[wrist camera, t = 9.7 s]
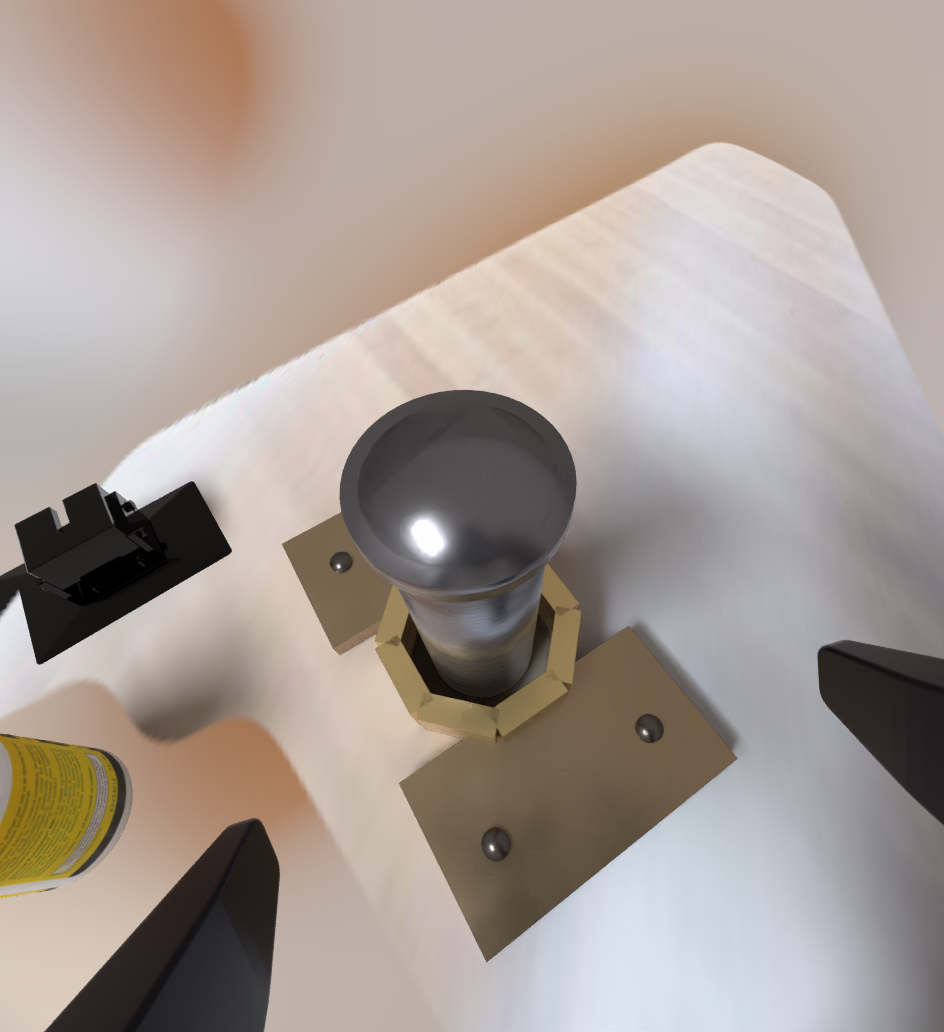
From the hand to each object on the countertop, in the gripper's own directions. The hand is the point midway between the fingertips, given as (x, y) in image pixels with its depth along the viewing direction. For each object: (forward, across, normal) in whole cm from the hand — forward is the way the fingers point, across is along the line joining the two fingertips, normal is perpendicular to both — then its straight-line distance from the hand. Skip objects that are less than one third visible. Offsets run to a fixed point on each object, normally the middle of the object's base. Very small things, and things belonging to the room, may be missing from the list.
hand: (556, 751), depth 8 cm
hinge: (+14, 0, +6) cm, 15 cm away
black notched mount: (+21, +16, 0) cm, 26 cm away
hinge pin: (+14, 0, +6) cm, 15 cm away
